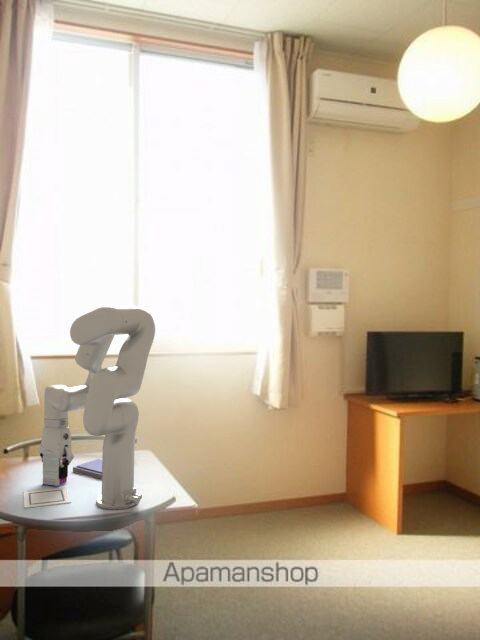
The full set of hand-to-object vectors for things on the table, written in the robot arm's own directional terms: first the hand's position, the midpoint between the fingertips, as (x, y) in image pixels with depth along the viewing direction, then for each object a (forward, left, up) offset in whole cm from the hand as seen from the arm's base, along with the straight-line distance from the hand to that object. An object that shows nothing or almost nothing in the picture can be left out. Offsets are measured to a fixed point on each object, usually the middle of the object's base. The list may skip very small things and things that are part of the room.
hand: (55, 475), depth 179 cm
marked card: (-8, +10, -3) cm, 13 cm away
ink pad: (-2, -18, -3) cm, 18 cm away
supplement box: (0, 0, -3) cm, 3 cm away
